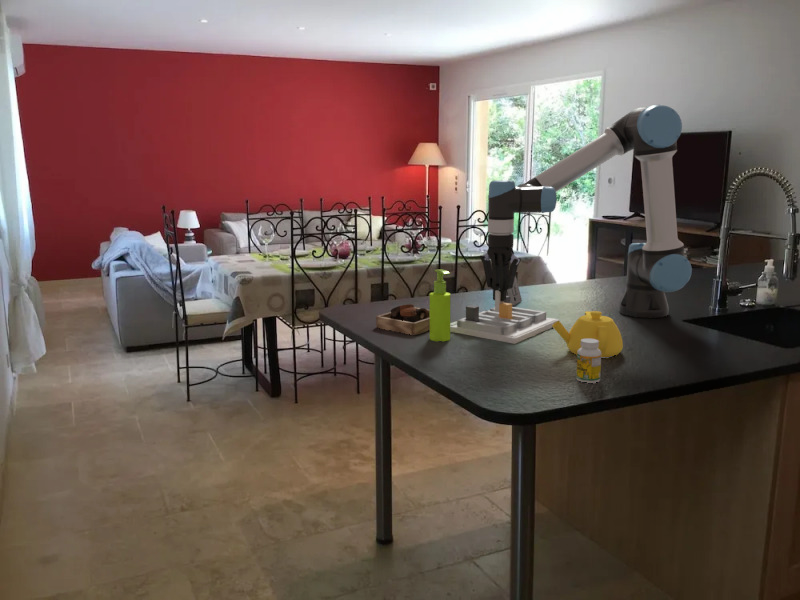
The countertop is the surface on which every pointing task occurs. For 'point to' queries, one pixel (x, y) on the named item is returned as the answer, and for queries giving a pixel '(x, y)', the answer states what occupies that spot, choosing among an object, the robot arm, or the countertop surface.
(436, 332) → the soap dispenser
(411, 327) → the wooden tray
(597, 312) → the teapot
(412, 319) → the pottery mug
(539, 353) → the countertop surface
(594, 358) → the supplement bottle
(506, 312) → the block
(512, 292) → the electrical switch
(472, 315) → the block
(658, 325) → the countertop surface
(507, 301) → the block
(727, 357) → the countertop surface
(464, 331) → the panel
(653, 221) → the robot arm
